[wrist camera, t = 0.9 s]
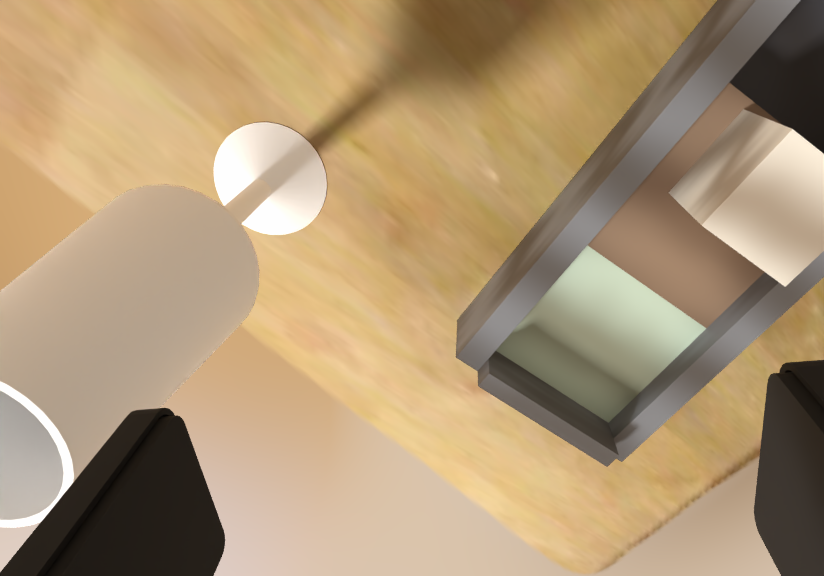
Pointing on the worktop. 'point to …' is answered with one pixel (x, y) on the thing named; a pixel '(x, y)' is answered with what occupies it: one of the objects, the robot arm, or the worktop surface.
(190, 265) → the champagne flute
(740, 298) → the tray
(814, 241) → the block
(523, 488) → the worktop surface
